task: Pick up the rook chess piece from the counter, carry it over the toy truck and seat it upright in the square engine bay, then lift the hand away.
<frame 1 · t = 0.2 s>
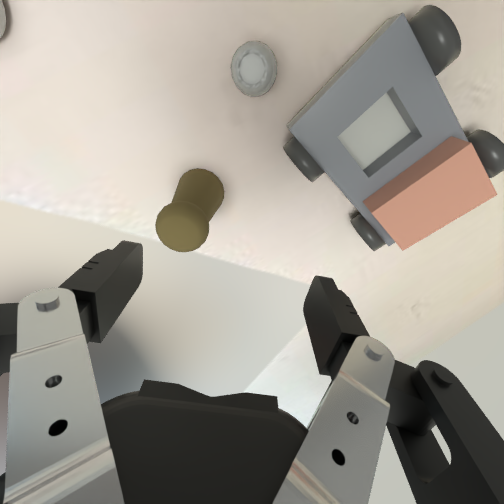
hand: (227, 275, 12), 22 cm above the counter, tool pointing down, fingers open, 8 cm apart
toy truck: (383, 151, 29), on the counter
rook chess piece: (254, 70, 25), on the counter
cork: (201, 191, 33), on the counter
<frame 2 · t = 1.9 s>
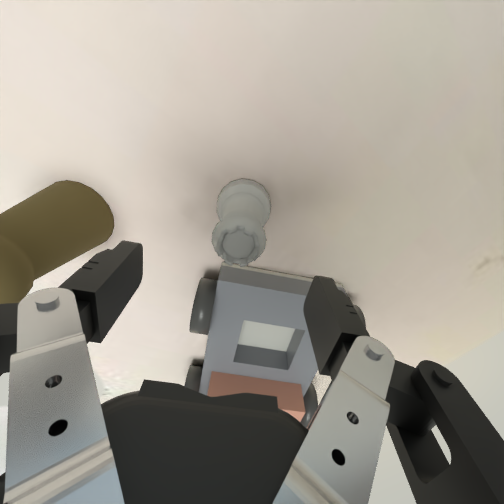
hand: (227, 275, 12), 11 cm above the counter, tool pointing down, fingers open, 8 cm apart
toy truck: (260, 343, 29), on the counter
rook chess piece: (244, 203, 21), on the counter
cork: (80, 214, 22), on the counter
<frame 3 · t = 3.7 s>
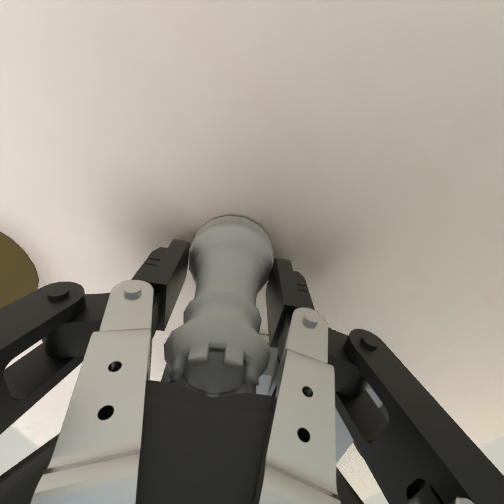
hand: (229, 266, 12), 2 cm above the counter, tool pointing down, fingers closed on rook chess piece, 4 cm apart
toy truck: (258, 418, 22), on the counter
rook chess piece: (233, 248, 14), on the counter, touching gripper
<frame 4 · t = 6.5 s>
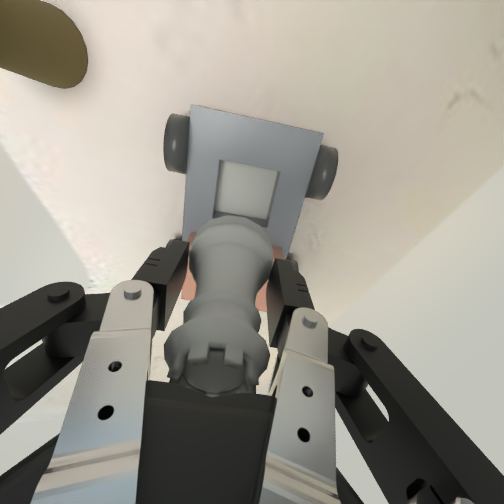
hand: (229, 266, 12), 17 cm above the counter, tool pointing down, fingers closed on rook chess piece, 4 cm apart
toy truck: (241, 213, 29), on the counter
rook chess piece: (232, 248, 14), point 15 cm above the counter, touching gripper
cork: (53, 48, 22), on the counter
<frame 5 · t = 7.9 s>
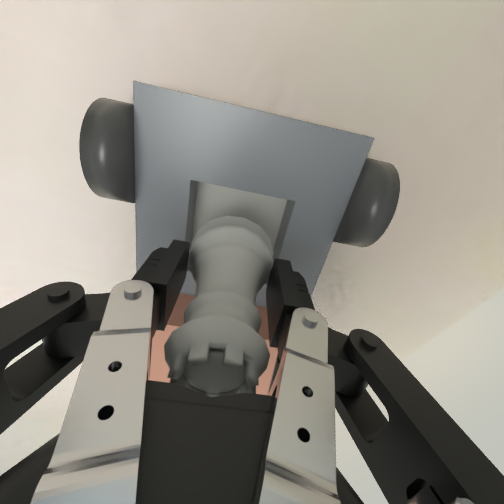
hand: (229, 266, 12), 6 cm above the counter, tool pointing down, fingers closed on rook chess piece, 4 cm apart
toy truck: (230, 255, 19), on the counter
rook chess piece: (233, 248, 14), point 4 cm above the counter, touching gripper
when the fingers open (4 cm above the counter, at t = 9.2 s): rook chess piece drops 1 cm, resting on toy truck.
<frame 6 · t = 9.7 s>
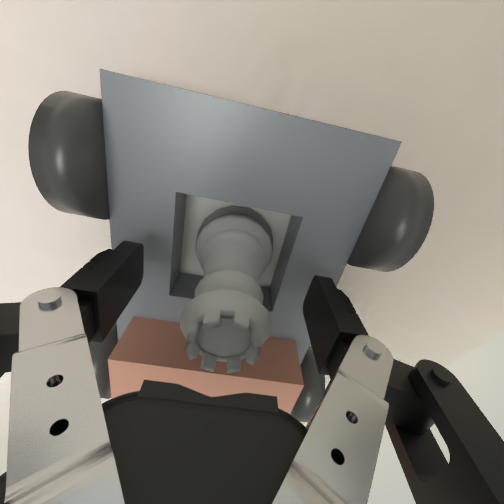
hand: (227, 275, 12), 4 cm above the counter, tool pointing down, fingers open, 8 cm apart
toy truck: (226, 274, 17), on the counter
rook chess piece: (235, 237, 15), resting on toy truck
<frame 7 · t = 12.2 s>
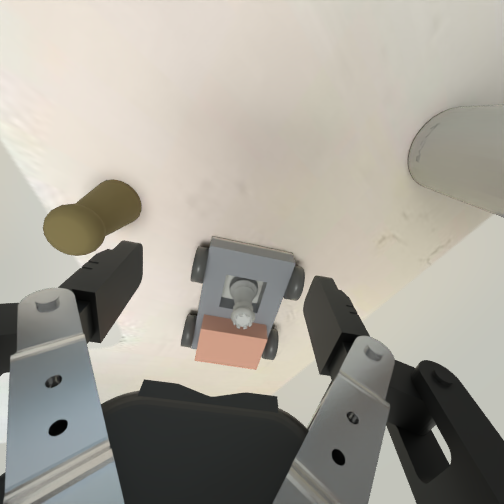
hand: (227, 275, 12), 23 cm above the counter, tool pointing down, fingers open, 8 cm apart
toy truck: (238, 297, 41), on the counter
rook chess piece: (243, 284, 39), resting on toy truck
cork: (118, 202, 33), on the counter
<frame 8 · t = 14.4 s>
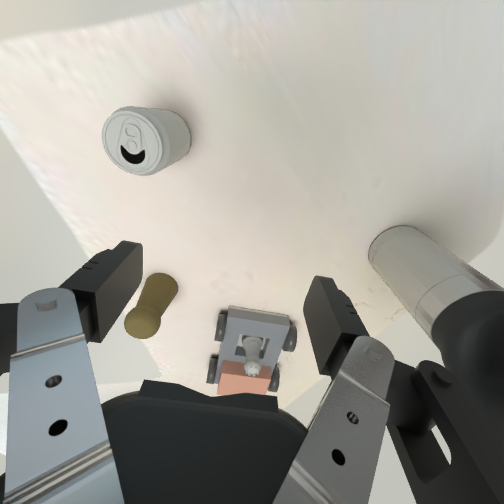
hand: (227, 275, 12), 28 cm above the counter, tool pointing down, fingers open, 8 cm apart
toy truck: (248, 345, 54), on the counter
beverage can: (169, 136, 35), on the counter
rook chess piece: (252, 336, 52), resting on toy truck
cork: (162, 285, 47), on the counter
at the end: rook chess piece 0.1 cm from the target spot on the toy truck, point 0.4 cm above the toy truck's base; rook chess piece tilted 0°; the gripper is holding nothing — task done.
